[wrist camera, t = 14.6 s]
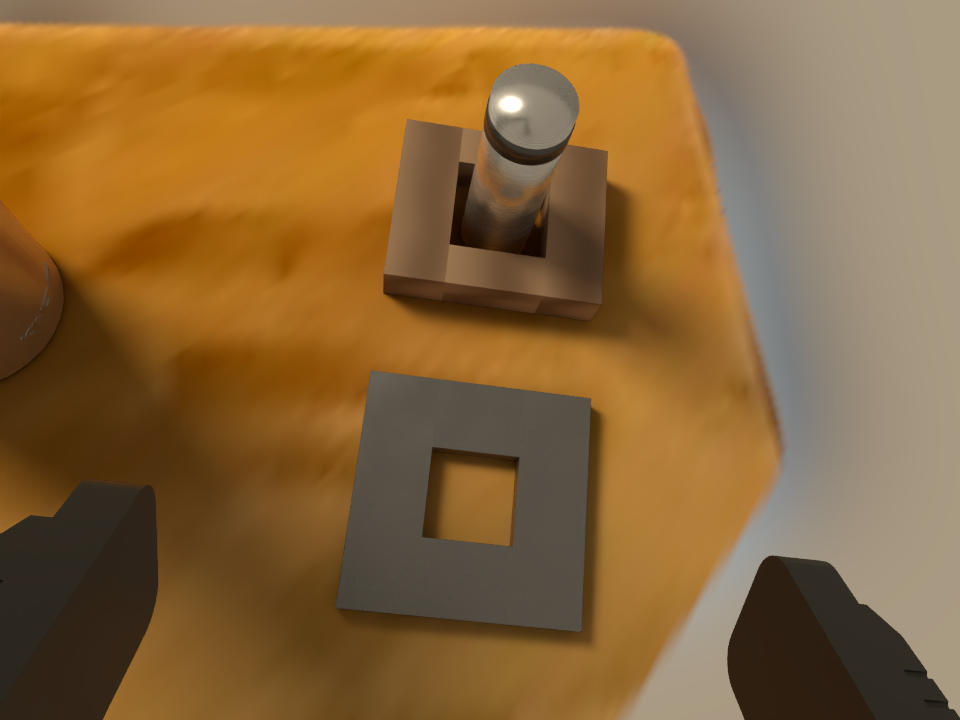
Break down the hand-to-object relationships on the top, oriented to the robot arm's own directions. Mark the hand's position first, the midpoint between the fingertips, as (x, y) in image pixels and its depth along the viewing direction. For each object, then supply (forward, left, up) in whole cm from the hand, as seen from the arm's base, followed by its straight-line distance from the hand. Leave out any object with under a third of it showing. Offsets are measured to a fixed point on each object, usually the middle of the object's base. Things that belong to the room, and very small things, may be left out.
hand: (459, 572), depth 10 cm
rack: (+3, +22, -29) cm, 36 cm away
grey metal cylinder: (+3, +22, -29) cm, 36 cm away
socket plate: (+3, +6, -29) cm, 29 cm away
